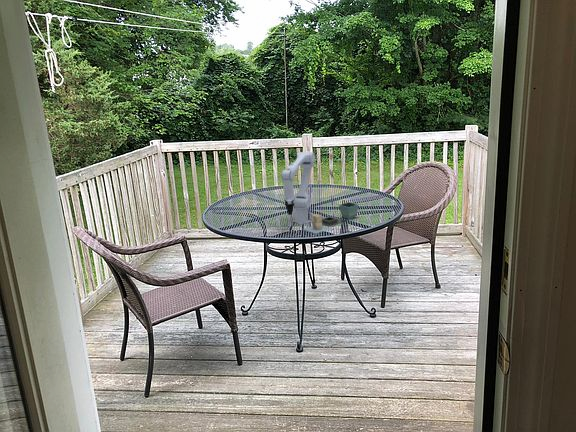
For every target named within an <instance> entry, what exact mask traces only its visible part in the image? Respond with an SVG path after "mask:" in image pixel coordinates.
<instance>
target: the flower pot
mask: <svg viewBox="0 0 576 432" xmlns="http://www.w3.org/2000/svg"><path fill="white" fill-rule="evenodd" d="M338 206H339V213H340V215H341V217H342V218H344V219H345V220H346V219H347V220H351V219H355V218H356V216H357V215H358V211H359V204H357V203H353V202H350V201H348V202H345V203H341V204H339V205H338Z"/></svg>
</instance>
